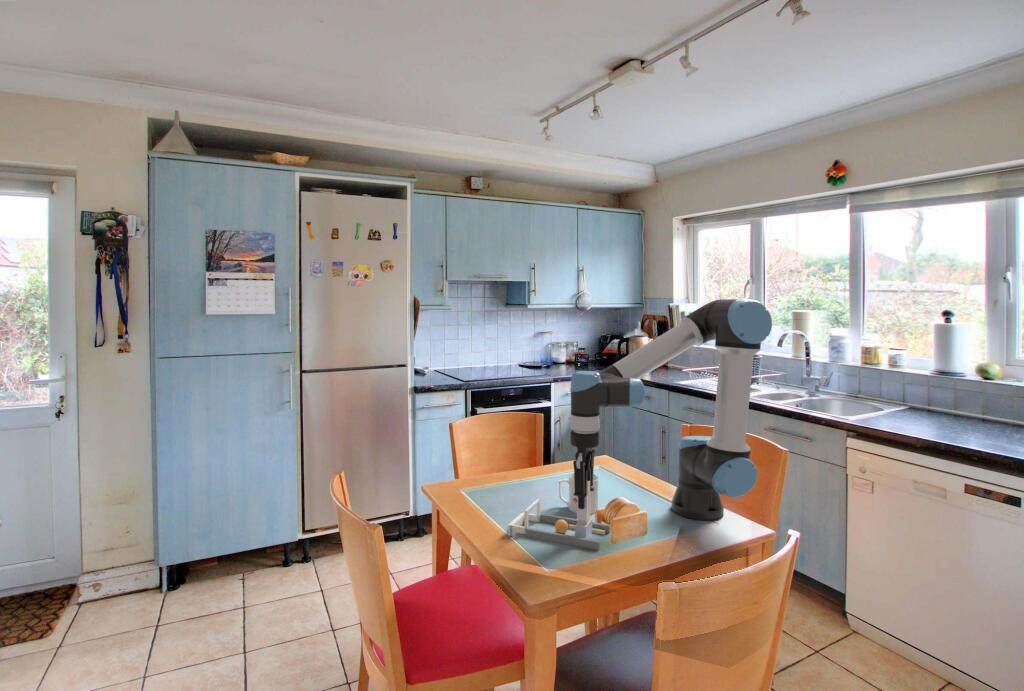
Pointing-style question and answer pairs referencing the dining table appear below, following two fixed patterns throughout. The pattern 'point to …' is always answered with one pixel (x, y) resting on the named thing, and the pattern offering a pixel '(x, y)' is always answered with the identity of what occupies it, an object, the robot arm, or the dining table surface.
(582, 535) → the post
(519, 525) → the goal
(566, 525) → the ball
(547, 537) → the pitch side rails
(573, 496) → the mug
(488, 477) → the dining table surface
